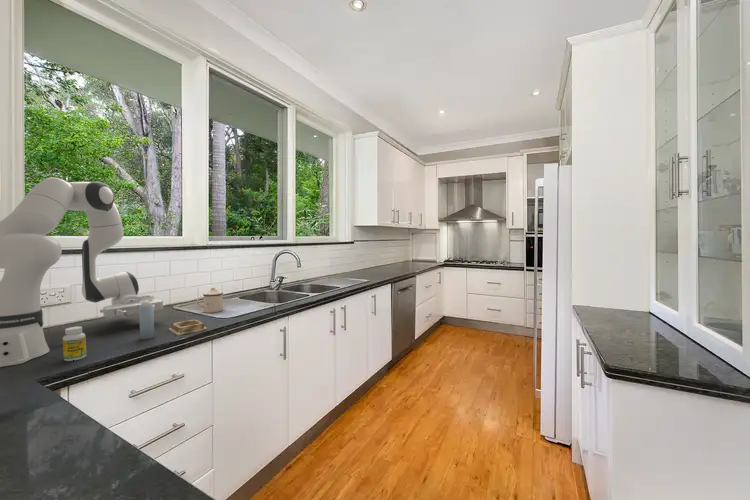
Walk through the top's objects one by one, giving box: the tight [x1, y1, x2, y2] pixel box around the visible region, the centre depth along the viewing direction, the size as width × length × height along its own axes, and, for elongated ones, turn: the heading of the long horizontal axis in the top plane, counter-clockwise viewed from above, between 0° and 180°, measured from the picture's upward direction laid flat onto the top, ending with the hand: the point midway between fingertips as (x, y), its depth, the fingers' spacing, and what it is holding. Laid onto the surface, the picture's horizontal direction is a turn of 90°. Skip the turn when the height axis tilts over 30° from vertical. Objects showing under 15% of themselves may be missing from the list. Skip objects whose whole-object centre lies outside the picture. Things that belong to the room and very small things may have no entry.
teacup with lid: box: [196, 286, 224, 314], centre depth 168 cm, size 12×9×12 cm
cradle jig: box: [168, 318, 208, 336], centre depth 136 cm, size 11×11×3 cm
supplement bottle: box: [62, 326, 87, 362], centre depth 106 cm, size 5×5×10 cm
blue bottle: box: [138, 301, 155, 341], centre depth 126 cm, size 4×4×14 cm
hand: (138, 311), depth 134 cm, fingers open, 8 cm apart
